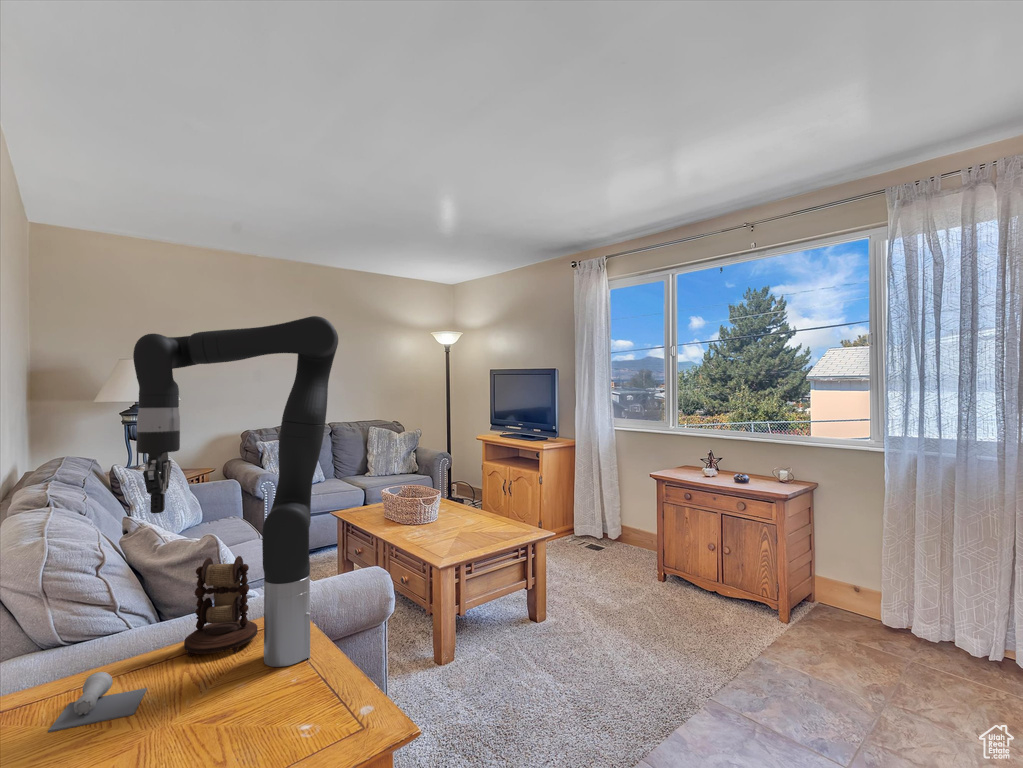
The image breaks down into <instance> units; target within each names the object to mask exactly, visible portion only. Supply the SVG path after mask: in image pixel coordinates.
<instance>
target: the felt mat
mask: <svg viewBox="0 0 1023 768" xmlns="http://www.w3.org/2000/svg"><path fill="white" fill-rule="evenodd" d="M146 692H148V687H145V688H140V689H139V688H138V689H134V690H129V691H128V690H127V691H123V692H118V693H112V694H108V695H103V696H101V697H99V698H98V700H97V702H96V706H95V708H94V709H93V710H92V711H91V712H89V713H87V714H85V715H84V714H81V715H78V714H79V713H75V712H74V704H75V702H76V701H71V702H69V703H68V704H67V706H66V707H64V709H63V711H62V712H61V713H60V714H59V716H58V718H57V719H56V720H55V721H54V723H52V725H51V727H50V728H49V729H48V730H47V732H48V733H53V732H57V731H62V730H67V729H70V728H71V729H72V728H76V727H81V726H86V725H92V724H96V723H101V722H105V721H111V720H114V719H115V720H116V719H119V718H124V717H130V716H133V715H135V714H136V712H137V710H138V708H139V705H140V704H141V701H142V700H143V698H144V696H145V694H146Z"/></svg>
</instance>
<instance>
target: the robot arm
mask: <svg viewBox="0 0 1023 768" xmlns="http://www.w3.org/2000/svg"><path fill="white" fill-rule="evenodd" d="M338 345H339V334H338V332H337V330H336V328H335V326H334V324H332V322H330V320H328V319H327V318H325V317H321V316H317V315H312V316H307V317H303V318H299V319H295V320H291V321H287V322H283V323H277V324H272V325H266V326H259V327H257V326H256V327H249V328H248V327H246V328H234V329H233V328H232V329H220V330H219V329H218V330H206V331H199V332H194V333H192V334H191V335H185V336H169V337H168V336H165V335H162V334H160V333H146V334H144V335H142V336H141V337H140V338H139V339H138V340H137V341H136V343H135V345H134V348H133V365H134V371H135V375H136V379H137V384H138V389H139V390H138V409H137V410H138V412H137V417H136V449H135V450H136V452H137V453H138V454H147V455H148V457H147V461H146V462H145V463H144V470H143V471H142V476H143V480H144V485H145V489H146V490H145V491H146V493H147V494H149V496H150V513H151V514H160V513H163V512H164V511H165V510H166V509H165V508H166V507H165V505H166V504H165V501H166V496H165V495H166V493H167V490H168V489H169V487H170V485H169V484H170V479H171V478H170V477H171V472H172V469H173V466H172V460H171V459H169V453H174V452H178V451H180V449H181V448H180V447H181V446H180V444H181V440H180V439H181V416H180V410H179V409H180V407H179V405H180V403H179V401H180V389H179V385H178V383H177V382H176V381H175V380H174V374H173V373H174V372H173V369H175V370H176V369H181V368H187V367H192V366H196V365H209V364H210V365H211V364H220V363H221V364H222V363H228V362H235V361H236V362H237V361H243V360H248V359H251V358H256V357H261V356H268V355H274V354H275V355H277V354H295V355H296V354H297V360H296V361H297V363H296V372H295V377H294V381H293V383H292V384H293V385H292V387H291V390H290V392H289V395H288V397H287V401H286V403H285V406H284V410H283V413H282V417H281V424H280V429H279V435H278V437H279V438H278V452H277V453H278V459H277V460H278V481H277V485H276V486H277V487H276V490H275V494H274V499H273V501H272V504H271V505H272V506H271V508H270V511H269V513H268V515H266V517H265V519H264V522H263V525H262V531H261V532H262V534H261V535H262V537H261V538H262V539H261V541H262V545H261V546H262V548H261V549H262V551H261V552H262V569H263V570H262V571H263V577H264V579H263V580H264V583H263V584H264V585H263V593H264V595H263V608H264V609H263V663H264V665H267V666H269V667H273V668H280V667H288V666H292V665H295V664H297V663H301V662H302V661H304V660H307V658H308V659H310V658H311V592H310V591H311V580H310V579H311V562H310V526H311V521H312V517H311V513H312V512H311V508H312V507H311V505H312V486H313V482H314V476H315V471H316V469H317V465H318V463H319V458H320V456H321V455H320V454H321V449H322V445H323V441H324V436H325V435H324V434H325V427H326V418H327V410H328V396H329V395H328V394H329V392H328V391H329V390H328V389H329V379H330V374H331V370H332V367H333V362H334V359H335V355H336V352H337V349H338Z"/></svg>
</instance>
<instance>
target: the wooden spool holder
mask: <svg viewBox="0 0 1023 768" xmlns="http://www.w3.org/2000/svg"><path fill="white" fill-rule="evenodd" d="M249 568H250V567H249V565H248V564H246V563H244V560H243V557H242V556H241V555H237V556H236V558H235V559H234V563H221V564H220V563H218V564H215V563H214V561H213V559H212V557H207V558H206V559H204V562H203V563H202V565H200V566H198V567H197V568H196V569H195V574H196V575H197V576H196V579H197V581H196V586H197V587H196V588H195V590H194V594H195V597H196V598H197V601H196V607H197V608H196V609H195V615H196V620H197V621H196V624H195V628H196V630H194V631H193V632H192V633H190V634H188V635H187V636H186V637H185V639H184V642H183V648H184V650H185V651H186V653H187V655H188V657H191V656H193V654H196V655H197V654H199V655H200V654H203V655H204V654H205V655H207V654H215V653H220V652H225V651H229V650H232V652H233V653H234V654H236V653H237V652H238V650H239V647H241V646H243V645H245V644H247V643H248V642H250V641H251V640H253V639H255V637H257V635H258V625H257V624H256V623H255V622H253V621H251V620H248V617H247V615H248V611H249V604H247V603H248V598H247V595H248V593H249V590H250V585H249V584H248V580H249V579H248V577H247V575H248V574H249V573H248V571H249ZM204 585H206V586H204ZM207 587H208V588H207ZM205 595H213V599H212V598H210V597H206V598H204V597H205ZM203 598H204V599H203ZM213 602H214V603H213Z"/></svg>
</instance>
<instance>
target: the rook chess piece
mask: <svg viewBox="0 0 1023 768" xmlns="http://www.w3.org/2000/svg"><path fill="white" fill-rule="evenodd" d="M112 685H113V677H112V675H110V673H108V672H105V671H100V672H98V671H97V672H95V673H93V674H90V676H88V677H87V678H86V679H85V681H84V683H83V685H82V694H81V696H79V698H78V699H77V700H76V701H74V702H75V704H74V712H75V713H79V714H78V715H81V714H84V715H85V714H87V713H89V712H91V711H92V710H93V709H94V708H95V706H96V702H97V700H98V698H99V697H102V696H105V694H106V693H108V692H109V690H110V689H111V688H112Z"/></svg>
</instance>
